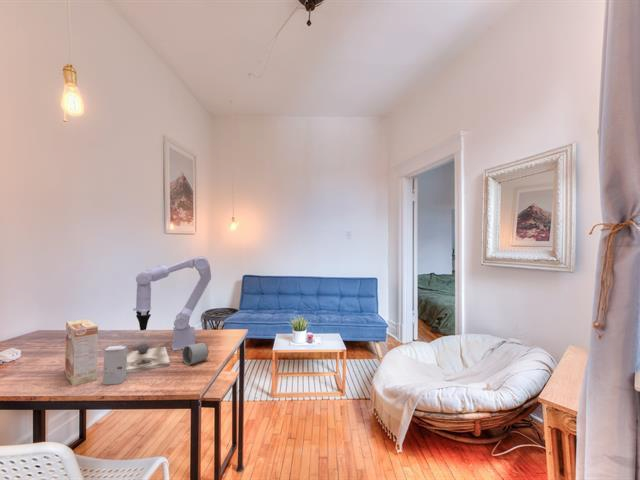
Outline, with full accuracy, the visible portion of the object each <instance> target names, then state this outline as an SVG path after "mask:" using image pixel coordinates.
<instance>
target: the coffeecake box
mask: <svg viewBox="0 0 640 480" xmlns="http://www.w3.org/2000/svg"><path fill="white" fill-rule="evenodd" d="M65 322H66V323H65V328H66V329H65V358H64V360H65V363H64V365H65V366H64V375H65V376H66V378H67V379H68V381H69V382H70V384H71V386H73V387H74V386H78V385H82V384H83V385H84V384H86V383H90V382H94V381H97V377H98V376H97V374H98V373H97V372H98V371H97V370H98V341H99V340H98V334H99V333H98V331H99V328H98V327H99V326H98V325H97V324H96V323H94V322H93V321H92V320H90V319H89V318H84V319H77V320H76V319H75V320H69V321H65Z"/></svg>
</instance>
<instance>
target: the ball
mask: <svg viewBox="0 0 640 480" xmlns="http://www.w3.org/2000/svg"><path fill="white" fill-rule="evenodd" d="M148 349H149V345H148V344H146V343H141V344H139V345H138V346H137V350H138V352H139V353H145V352H147V350H148Z"/></svg>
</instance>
